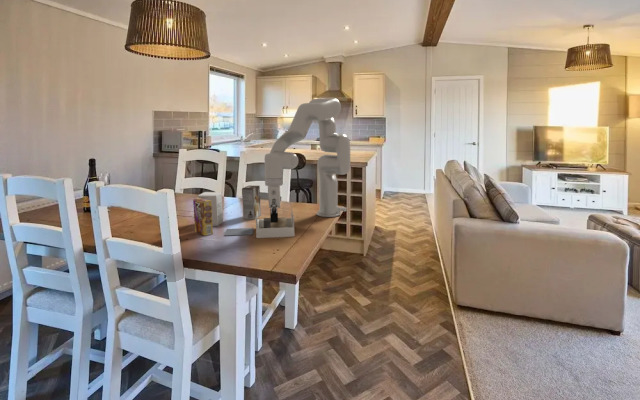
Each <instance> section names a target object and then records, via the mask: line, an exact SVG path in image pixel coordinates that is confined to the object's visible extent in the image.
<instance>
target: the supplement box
mask: <svg viewBox="0 0 640 400" xmlns="http://www.w3.org/2000/svg"><path fill="white" fill-rule="evenodd" d="M197 198H202V199H207V200H211V203H212V226H213V227H218V226H219V225H221V224H222V223H223V222H224V213H223V212H224V211H223V210H224V209H223V192H220V191H219V192H218V191H203V192H202V193H199V194H198V196H197Z"/></svg>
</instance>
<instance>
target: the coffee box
mask: <svg viewBox="0 0 640 400" xmlns="http://www.w3.org/2000/svg"><path fill="white" fill-rule="evenodd" d="M260 187H261V186H260V185H247V186H245V187H243V188H241V197H242V218H243V219H244V220H252V221H253V220H255V221H256V215H257V211H258V218H259V217H260V216H262V213H261V209H262V208H261V188H260Z"/></svg>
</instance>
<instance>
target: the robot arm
mask: <svg viewBox="0 0 640 400" xmlns="http://www.w3.org/2000/svg"><path fill="white" fill-rule="evenodd" d="M341 111H342V105H341V102H340V101H339V100H338V99H337V98H332V97H331V98H315V99H314V98H313V99H312V100H310V101H309V102H305V103H301V104H300V105H299V106H298V108H297V110H296V111H295V114H294V116H293V119H292V121H291V123H290V125H289V127H288V129H287V130H286V131H285V132H284V133H283V134H282V135H280V136H279V137H278V138H277V139H276V140H275V142H274V143H273V145H272V148H271V150H270V151H269V153H266V154H264V185H265V186H266V187H267V199H268V206H269V209H270V210H269V211H270V213H269V214H270V217H269V218H270V221H271V223H277V222H278V218H279V214H278V209H281V186H283V170H293V169H295V168H296V167H298V165H299V157H298V156H297V154H295V153H293V152H289V151H286V150H287V149H288V148H289V147H291V146H292V145H295V144H297V143H299V142H301V141H302V140H304V139H306V138H307V135H308V132H309V130H310V127H311V125H312V123H313V122H317V125H318V130H319V131H318V132H319V133H318V134H319V136H318V137H319V148H320V150H321V151H322V152H324V153H333V154H323V155H321V156H320V157H318V159H317V169H318V177H319V178H318V179H319V182H318V183H319V210H318V211H317V212H316V215H317V216H318V217H321V218H322V217H323V218H333V217H334V218H336V217H338V216H340V215H341V212H347V207H345V206H344V207H343V206H339V205H338V202H339V201H338V193H339V191H338V186H339V184H338V183H339V182H338V178H337V176H336V175H341V176H343V175H346V174H348V173H349V171H350V169H351V142H350V139H349V137H348V136H347V135H346V134H344V133H337V123H336V121H335V117H337V116H339V114H340V112H341Z"/></svg>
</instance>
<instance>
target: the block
mask: <svg viewBox="0 0 640 400" xmlns="http://www.w3.org/2000/svg"><path fill="white" fill-rule="evenodd" d="M286 218H287V217H286V216H285V217H283V216H282V217H278V222H277V223H271V221H270V217H264V218H263V219H264V228H285V227H287V225H286Z"/></svg>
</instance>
